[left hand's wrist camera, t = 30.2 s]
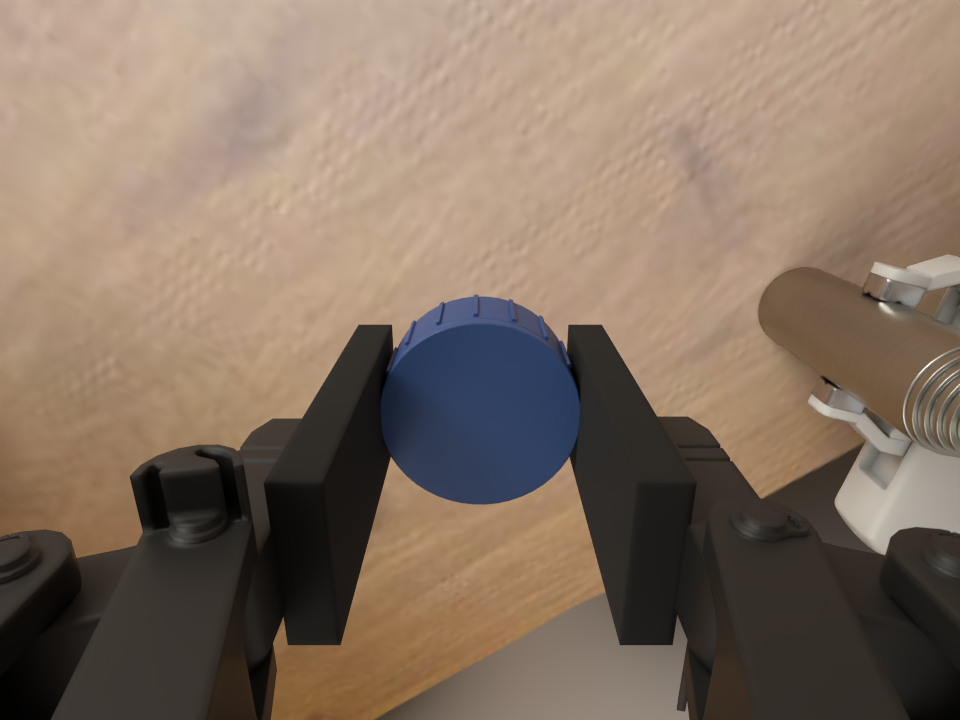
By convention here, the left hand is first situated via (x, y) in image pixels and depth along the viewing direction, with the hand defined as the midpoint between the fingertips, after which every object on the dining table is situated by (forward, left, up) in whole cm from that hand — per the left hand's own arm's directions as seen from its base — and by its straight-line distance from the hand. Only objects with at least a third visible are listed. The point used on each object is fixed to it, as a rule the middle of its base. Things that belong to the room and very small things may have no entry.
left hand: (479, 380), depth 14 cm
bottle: (+14, -12, -20) cm, 27 cm away
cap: (0, 0, +2) cm, 2 cm away
